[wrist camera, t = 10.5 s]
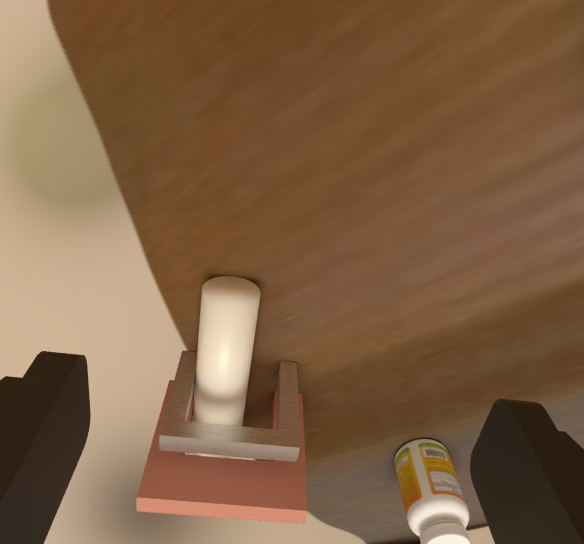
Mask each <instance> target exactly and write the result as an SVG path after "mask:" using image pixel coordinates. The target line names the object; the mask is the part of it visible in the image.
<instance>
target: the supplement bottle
mask: <svg viewBox="0 0 584 544" xmlns="http://www.w3.org/2000/svg"><path fill="white" fill-rule="evenodd" d="M395 468H396V472H397V476H398V481H399V485H400V490H401V494H402V498H403V503H404V507H405V512H406V516H407V520H408V523H409V526H410V528H411V530H412V531H413V532H414V533H415V534H416V535H418V536H419V537H420V542H421V544H470V540H469V537H468V533H467V530H466V526H467V524H468V521H469V512H468V508H467V505H466V502H465V500H464V497H463V494H462V491H461V488H460V486H459V482H458V480H457V477H456V474H455V471H454V468H453V465H452V462H451V459H450V457H449V454H448V451H447V449H446V448H445V447H444V446H443V445H442V444H441V443H439V442H437V441H434V440H430V439H418V440H414V441H411V442H409V443H407V444H405V445H404V446H402V447H401V448H400V449H399V450H398V452H397V453H396V456H395Z"/></svg>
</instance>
